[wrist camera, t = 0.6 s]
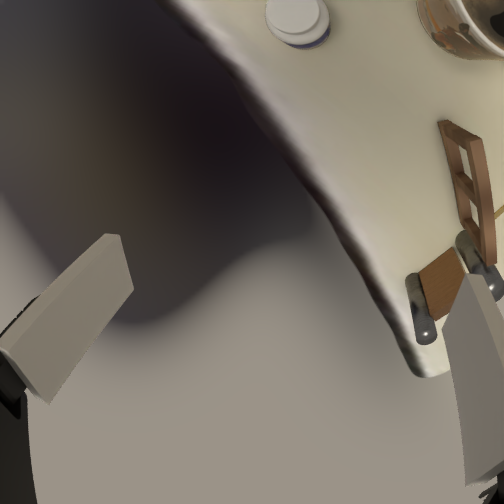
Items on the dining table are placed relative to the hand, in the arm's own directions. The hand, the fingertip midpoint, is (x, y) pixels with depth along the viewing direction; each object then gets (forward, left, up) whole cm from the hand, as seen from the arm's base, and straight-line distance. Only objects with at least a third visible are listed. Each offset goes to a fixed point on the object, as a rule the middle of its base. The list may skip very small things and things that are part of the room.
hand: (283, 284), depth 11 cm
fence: (-7, +21, -24) cm, 33 cm away
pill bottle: (-8, -9, -25) cm, 27 cm away
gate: (-8, +13, -24) cm, 28 cm away
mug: (-21, +2, -25) cm, 33 cm away
